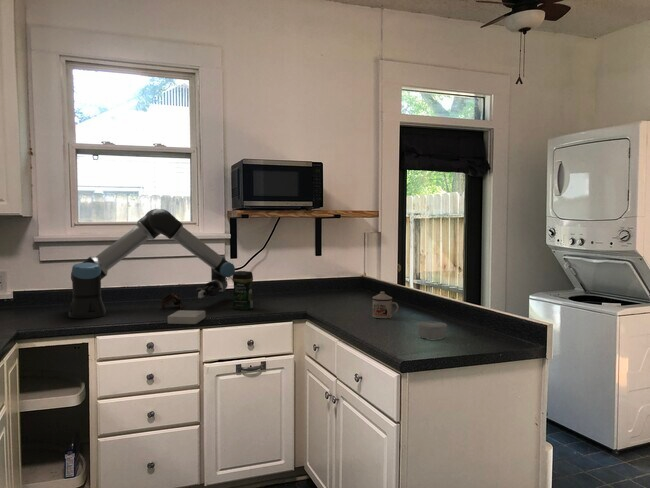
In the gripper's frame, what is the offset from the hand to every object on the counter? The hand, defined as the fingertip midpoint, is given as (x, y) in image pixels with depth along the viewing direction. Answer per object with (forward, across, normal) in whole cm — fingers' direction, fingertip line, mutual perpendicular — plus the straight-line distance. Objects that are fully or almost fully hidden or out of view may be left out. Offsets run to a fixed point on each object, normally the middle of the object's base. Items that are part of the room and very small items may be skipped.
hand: (199, 295), depth 237 cm
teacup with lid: (+6, -86, -8) cm, 87 cm away
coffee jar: (-11, -18, -8) cm, 23 cm away
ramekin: (+42, -101, -8) cm, 110 cm away
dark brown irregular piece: (-11, +17, -8) cm, 22 cm away
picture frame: (+11, 0, -7) cm, 13 cm away
